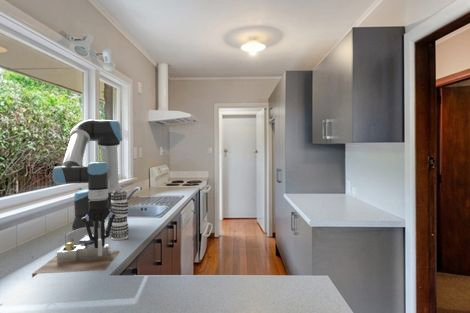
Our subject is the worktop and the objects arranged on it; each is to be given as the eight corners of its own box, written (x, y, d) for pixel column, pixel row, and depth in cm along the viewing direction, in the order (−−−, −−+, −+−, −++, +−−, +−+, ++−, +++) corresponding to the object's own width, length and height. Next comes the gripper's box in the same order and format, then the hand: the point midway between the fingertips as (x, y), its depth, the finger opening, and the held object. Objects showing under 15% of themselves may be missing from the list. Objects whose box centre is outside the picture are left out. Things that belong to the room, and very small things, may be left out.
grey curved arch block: (66, 252, 127) (64, 230, 130) (64, 253, 131) (62, 232, 133) (105, 243, 139) (102, 223, 141) (102, 244, 142) (99, 225, 144)
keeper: (86, 255, 124) (86, 234, 124) (98, 254, 125) (97, 234, 125) (78, 262, 116) (78, 240, 116) (91, 262, 117) (90, 240, 117)
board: (59, 256, 123) (59, 253, 123) (120, 253, 126) (120, 250, 126) (32, 276, 104) (32, 273, 104) (105, 273, 107) (105, 269, 106)
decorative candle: (110, 241, 142) (109, 192, 141) (110, 236, 151) (109, 190, 150) (129, 238, 146) (128, 191, 145) (128, 233, 155) (127, 189, 154)
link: (57, 262, 113) (56, 248, 113) (63, 256, 120) (63, 242, 120) (107, 258, 118) (107, 244, 117) (110, 252, 124) (110, 239, 124)
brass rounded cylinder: (68, 259, 120) (67, 242, 119) (75, 259, 120) (74, 241, 120) (64, 262, 117) (64, 244, 116) (71, 261, 117) (71, 244, 117)
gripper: (82, 202, 109) (83, 261, 110) (117, 198, 117) (118, 254, 118) (79, 199, 115) (80, 255, 116) (113, 196, 123) (113, 249, 124)
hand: (99, 254), depth 117 cm, fingers closed
